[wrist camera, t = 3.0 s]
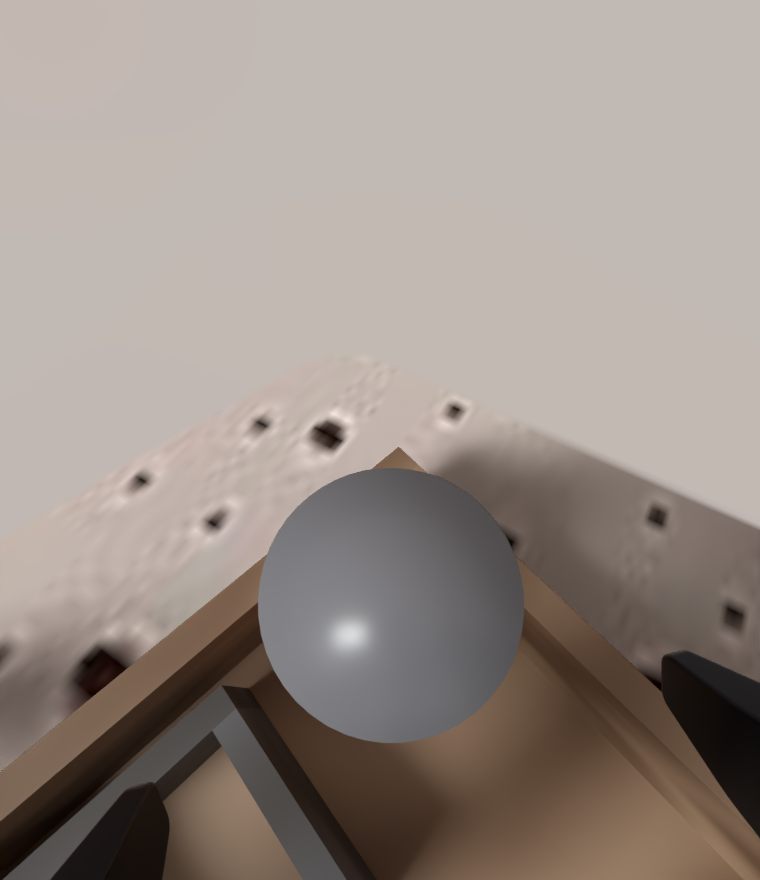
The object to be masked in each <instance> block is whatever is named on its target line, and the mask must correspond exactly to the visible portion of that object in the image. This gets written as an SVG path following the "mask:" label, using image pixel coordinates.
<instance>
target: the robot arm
mask: <svg viewBox="0 0 760 880" xmlns="http://www.w3.org/2000/svg"><path fill="white" fill-rule="evenodd" d="M662 695H663V698H664V701H665V703H666V705H667V706H668V708H669V709H670V711H671V713H672V714H673V716H674V717H675V719H676V720H677V722H678V723H679V725H680V726H681V728H682V729H683V731H684V732H685V734H686V735H687V737H688V738H689V740H690V741H691V743H692V744H693V746H694V747H695V749H696V750H697V752H698V753H699V755H700V756H701V758H702V759H703V761H704V762H705V764H706V766H707V767H708V769H709V770H710V772H711V773H712V775H713V776H714V778H715V779H716V781H717V782H718V784H719V785H720V786H721V788H722V789H723V791H724V792H725V794H726V795H727V797H728V798H729V799H730V801H731V802H732V803H733V805H734V806H735V807H736V809H737V810H738V811H739V813H740V814H741V815H742V816H743V818H744V819H745V820H746V822H747V823H748V824H749V825H750V827H751V828H752V829H753V830H754V832H755V833H756V834H757V836H758V837H759V838H760V683H759V682H756V681H754V680H752V679H750V678H748V677H745V676H743V675H741V674H739V673H736V672H734V671H732V670H730V669H728V668H725V667H723V666H721V665H719V664H716V663H714V662H712V661H710V660H707V659H705V658H703V657H701V656H699V655H696V654H694V653H692V652H689V651H685V650H682V651H678V652H673V653H669V654H666V655H664V656H663V658H662ZM169 833H170V821H169V816H168V813H167V811H166V808H165V805H164V803H163V800H162V798H161V795H160V793H159V790H158V788H157V786H156V784H154V783H153V782H147V783H143V784H139V785H135V786H131V787H129V788H127V789H126V790H125V791H124V792H123V793H122V794H121V795H120V796H119V797H118V798H117V800H116V801H115V802H114V803H113V804H112V806H111V807H110V808H109V809H108V810H107V812H106V813H105V814H104V815H103V816H102V818H101V819H100V820H99V821H98V822H97V824H96V825H95V826H94V827H93V828H92V830H91V831H90V832H89V833H88V834H87V836H86V837H85V838H84V839H83V840H82V842H81V843H80V844H79V845H78V846H77V848H76V849H75V850H74V851H73V852H72V854H71V855H70V856H69V857H68V858H67V860H66V861H65V862H64V863H63V864H62V866H61V867H60V868H59V869H58V870H57V872H56V873H55V874H54V875H53V876H52V878H51V879H50V880H162V879H163V873H164V866H165V860H166V853H167V846H168V840H169Z"/></svg>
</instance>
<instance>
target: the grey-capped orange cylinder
mask: <svg viewBox="0 0 760 880" xmlns="http://www.w3.org/2000/svg"><path fill="white" fill-rule="evenodd" d="M258 617H259V624H260V631H261V636H262V640H263V643H264V647H265V650H266V653H267V656H268V658H269V660H270V663H271V665H272V667H273V669H274V671H275V673H276V674H277V676H278V678H279V679H280V681H281V683H282V684H283V686H284V687H285V689H286V690H287V691H288V692H289V693H290V695H291V696H292V697H293V698H294V700H295V701H296V702H297V703H298V704H299V705H300V706H302V707H303V708H304V709H305V710H306V711H307V712H308V713H309V714H310V715H312V716H313V717H315V718H316V719H318V720H319V721H321V722H322V723H323V724H325V725H326V726H328V727H330V728H333V729H335V730H337V731H339V732H341V733H343V734H345V735H348V736H352V737H355V738H358V739H362V740H366V741H373V742H380V743H405V742H411V741H417V740H422V739H426V738H429V737H432V736H435V735H438V734H441V733H443V732H445V731H447V730H449V729H451V728H453V727H455V726H457V725H459V724H461V723H462V722H463V721H465V720H466V719H467V718H469V717H470V716H471V715H473V714H474V713H476V712H477V711H478V710H479V709H480V708H481V707H482V706H483V705H484V704H485V703H486V702H487V701H488V700H489V699H490V698H491V697H492V695H493V694H494V693H495V691H496V690H497V689H498V687H499V686H500V685H501V683H502V682H503V680H504V678H505V676H506V674H507V673H508V671H509V669H510V667H511V665H512V663H513V660H514V657H515V655H516V652H517V649H518V646H519V642H520V638H521V633H522V629H523V619H524V591H523V585H522V579H521V574H520V570H519V567H518V564H517V560H516V557H515V555H514V553H513V550H512V548H511V546H510V543H509V541H508V540H507V538H506V536H505V535H504V533H503V531H502V529H501V528H500V526H499V525H498V524H497V522H496V521H495V520H494V518H493V517H492V516H491V515H490V513H489V512H488V511H487V510H486V509H485V508H484V507H483V506H482V505H481V504H480V503H479V502H478V501H476V500H475V499H474V498H473V497H471V496H470V495H469V494H468V493H466V492H465V491H463V490H462V489H460V488H459V487H457V486H455V485H454V484H452V483H450V482H448V481H446V480H443V479H441V478H439V477H436V476H433V475H430V474H427V473H424V472H420V471H415V470H410V469H400V468H378V469H371V470H365V471H361V472H357V473H353V474H350V475H347V476H345V477H342V478H340V479H337V480H335V481H333V482H331V483H329V484H327V485H326V486H324V487H322V488H321V489H319V490H318V491H316V492H315V493H313V494H312V495H311V496H309V497H308V498H307V499H306V500H305V501H304V502H303V503H301V504H300V505H299V506H298V507H297V508H296V509H295V510H294V512H293V513H292V514H291V515H290V516H289V517H288V518H287V520H286V521H285V523H284V524H283V526H282V527H281V529H280V530H279V531H278V533H277V535H276V537H275V539H274V541H273V543H272V545H271V547H270V549H269V552H268V554H267V557H266V560H265V562H264V566H263V570H262V574H261V578H260V585H259V594H258Z"/></svg>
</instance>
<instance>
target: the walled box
mask: <svg viewBox="0 0 760 880" xmlns="http://www.w3.org/2000/svg"><path fill="white" fill-rule="evenodd" d="M378 468H400V469H410V470H415V471H420V472H424V473H426V472H425V471H424V470H423V469H422V468H421V467H420V466H419V465H418V464H417V463H416V462H414V461H413V460H412V459H411V458H410V457H409V456H408V455H407V454H406V453H405V452H404V451H403V450H402V449H401V448H399V447H398V448H397V449H395V450H394V451H393V452H392V453H391V454H389V455H388V456H387V457H386V458H384V459H383V460H382V461H381V462H380V463H378V464H377V465H376V466H375V467H373V468H372V469H378ZM266 557H267V555H266V556H265V557H263V558H262V559H261V560H260V561H258V562H257V563H256V564H255V565H254V566H252V567H251V568H250V569H249V570H247V571H246V572H245V573H244V574H243V575H241V576H240V577H239V578H238V579H236V580H235V581H234V582H233V583H231V584H230V585H229V586H228V587H227V588H225V589H224V590H223V591H222V592H220V593H219V594H218V595H217V596H216V597H214V598H213V599H212V600H211V601H209V602H208V603H207V604H206V605H205V606H203V607H202V608H201V609H200V610H198V611H197V612H196V613H195V614H194V615H192V616H191V617H190V618H189V619H187V620H186V621H185V622H184V623H183V624H181V625H180V626H179V627H178V628H176V629H175V630H174V631H173V632H172V633H170V634H169V635H168V636H167V637H165V638H164V639H163V640H162V641H161V642H159V643H158V644H157V645H156V646H154V647H153V648H152V649H151V650H149V651H148V652H147V653H146V654H145V655H143V656H142V657H141V658H140V659H138V660H137V661H136V662H135V663H134V664H132V665H131V666H130V667H129V668H127V669H126V670H125V671H124V672H123V673H121V674H120V675H119V676H118V677H116V678H115V679H114V680H113V681H112V682H110V683H109V684H108V685H107V686H105V687H104V688H103V689H102V690H101V691H99V692H98V693H97V694H96V695H94V696H93V697H92V698H91V699H90V700H88V701H87V702H86V703H85V704H83V705H82V706H81V707H80V708H78V709H77V710H76V711H75V712H74V713H72V714H71V715H70V716H69V717H67V718H66V719H65V720H64V721H63V722H61V723H60V724H59V725H58V726H56V727H55V728H54V729H53V730H52V731H50V732H49V733H48V734H47V735H45V736H44V737H43V738H42V739H41V740H39V741H38V742H37V743H36V744H34V745H33V746H32V747H31V748H30V749H28V750H27V751H26V752H25V753H23V754H22V755H21V756H20V757H19V758H17V759H16V760H15V761H14V762H12V763H11V764H10V765H9V766H8V767H6V768H5V769H4V770H3V771H1V772H0V880H50V879H51V878H52V876H53V875H54V874H55V873H56V872H57V870H58V869H59V868H60V867H61V866H62V864H63V863H64V862H65V861H66V860H67V858H68V857H69V856H70V855H71V854H72V852H73V851H74V850H75V849H76V848H77V846H78V845H79V844H80V843H81V842H82V840H83V839H84V838H85V837H86V836H87V834H88V833H89V832H90V831H91V830H92V828H93V827H94V826H95V825H96V824H97V822H98V821H99V820H100V819H101V818H102V816H103V815H104V814H105V813H106V812H107V810H108V809H109V808H110V807H111V806H112V804H113V803H114V802H115V801H116V800H117V798H118V797H119V796H120V795H121V794H122V793H123V792H124V791H125V790H126V789H127V788H129V787H131V786H135V785H139V784H143V783H147V782H153V783H154V784H156V786H157V788H158V790H159V793H160V795H161V798H162V800H163V803H164V805H165V808H166V811H167V813H168V816H169V821H170V833H169V840H168V846H167V853H166V860H165V866H164V873H163V879H162V880H760V838H759V837H758V836H757V834H756V833H755V832H754V830H753V829H752V828H751V827H750V825H749V824H748V823H747V822H746V820H745V819H744V818H743V816H742V815H741V814H740V813H739V811H738V810H737V809H736V807H735V806H734V805H733V803H732V802H731V801H730V799H729V798H728V797H727V795H726V794H725V792H724V791H723V789H722V788H721V786H720V785H719V784H718V782H717V781H716V779H715V778H714V776H713V775H712V773H711V772H710V770H709V769H708V767H707V766H706V764H705V762H704V761H703V759H702V758H701V756H700V755H699V753H698V752H697V750H696V749H695V747H694V746H693V744H692V743H691V741H690V740H689V738H688V737H687V735H686V734H685V732H684V731H683V729H682V728H681V726H680V725H679V723H678V722H677V720H676V719H675V717H674V716H673V714H672V713H671V711H670V709H669V708H668V706H667V705H666V703H665V701H664V698H663V695H662V692H661V691H660V690H659V689H658V688H657V687H656V686H654V685H653V684H652V683H651V682H650V681H649V680H648V679H647V678H646V677H645V676H644V675H643V674H642V673H641V672H639V671H638V670H637V669H636V668H635V667H634V666H633V665H632V664H631V663H630V662H629V661H628V660H627V659H626V658H624V657H623V656H622V655H621V654H620V653H619V652H618V651H617V650H616V649H615V648H614V647H613V646H612V645H611V644H609V643H608V642H607V641H606V640H605V639H604V638H603V637H602V636H601V635H600V634H599V633H598V632H597V631H596V630H594V629H593V628H592V627H591V626H590V625H589V624H588V623H587V622H586V621H585V620H584V619H583V618H582V617H581V616H579V615H578V614H577V613H576V612H575V611H574V610H573V609H572V608H571V607H570V606H569V605H568V604H567V603H566V602H564V601H563V600H562V599H561V598H560V597H559V596H558V595H557V594H556V593H555V592H554V591H553V590H552V589H551V588H549V587H548V586H547V585H546V584H545V583H544V582H543V581H542V580H541V579H540V578H539V577H538V576H537V575H536V574H534V573H533V572H532V571H531V570H530V569H529V568H528V567H527V566H526V565H525V564H524V563H523V562H522V561H521V560H519V559H518V558H517V557H516V556H515V557H516V560H517V564H518V567H519V570H520V574H521V579H522V585H523V591H524V619H523V629H522V633H521V638H520V642H519V646H518V649H517V652H516V655H515V657H514V660H513V663H512V665H511V667H510V669H509V671H508V673H507V674H506V676H505V678H504V680H503V682H502V683H501V685H500V686H499V687H498V689H497V690H496V691H495V693H494V694H493V695H492V697H491V698H490V699H489V700H488V701H487V702H486V703H485V704H484V705H483V706H482V707H481V708H480V709H479V710H478V711H477V712H476V713H474V714H473V715H471V716H470V717H469V718H467V719H466V720H465V721H463V722H462V723H461V724H459V725H457V726H455V727H453V728H451V729H449V730H447V731H445V732H443V733H441V734H438V735H435V736H432V737H429V738H426V739H422V740H417V741H411V742H405V743H380V742H373V741H366V740H362V739H358V738H355V737H352V736H348V735H345V734H343V733H341V732H339V731H337V730H335V729H333V728H330V727H328V726H326V725H325V724H323V723H322V722H321V721H319V720H318V719H316V718H315V717H313V716H312V715H310V714H309V713H308V712H307V711H306V710H305V709H304V708H303V707H302V706H300V705H299V704H298V703H297V702H296V701H295V700H294V698H293V697H292V696H291V695H290V693H289V692H288V691H287V690H286V689H285V687H284V686H283V684H282V683H281V681H280V679H279V678H278V676H277V674H276V673H275V671H274V669H273V667H272V665H271V663H270V660H269V658H268V656H267V653H266V650H265V647H264V643H263V640H262V636H261V631H260V624H259V617H258V594H259V585H260V578H261V574H262V570H263V566H264V562H265V560H266Z"/></svg>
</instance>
